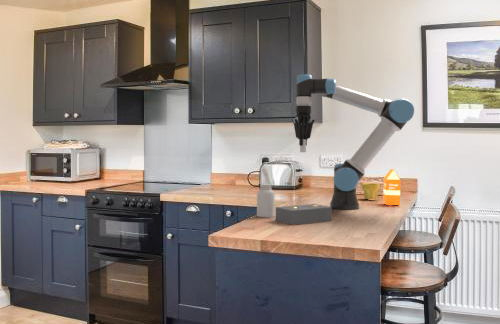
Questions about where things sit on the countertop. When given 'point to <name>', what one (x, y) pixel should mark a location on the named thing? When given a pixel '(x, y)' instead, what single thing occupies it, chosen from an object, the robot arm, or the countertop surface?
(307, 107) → the robot arm
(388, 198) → the orange juice
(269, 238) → the countertop surface
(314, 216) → the block
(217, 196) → the countertop surface
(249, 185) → the countertop surface
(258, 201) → the pill bottle
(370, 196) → the plant pot
